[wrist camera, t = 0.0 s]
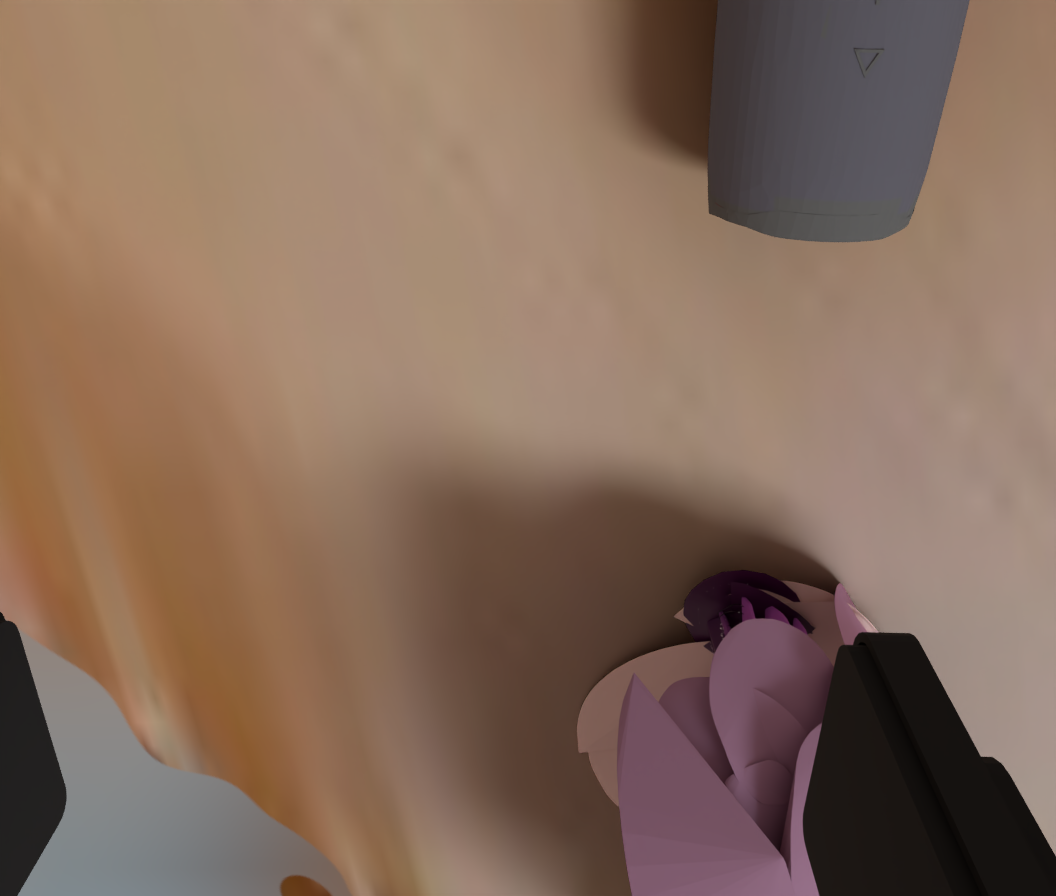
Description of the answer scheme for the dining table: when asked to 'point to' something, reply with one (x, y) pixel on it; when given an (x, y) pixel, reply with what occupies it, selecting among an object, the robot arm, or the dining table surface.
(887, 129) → the bluetooth speaker
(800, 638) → the flower arrangement
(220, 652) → the dining table surface
